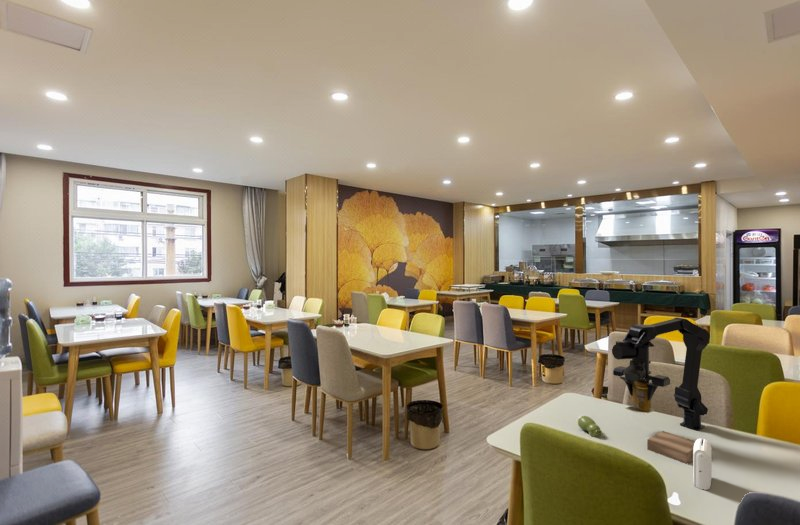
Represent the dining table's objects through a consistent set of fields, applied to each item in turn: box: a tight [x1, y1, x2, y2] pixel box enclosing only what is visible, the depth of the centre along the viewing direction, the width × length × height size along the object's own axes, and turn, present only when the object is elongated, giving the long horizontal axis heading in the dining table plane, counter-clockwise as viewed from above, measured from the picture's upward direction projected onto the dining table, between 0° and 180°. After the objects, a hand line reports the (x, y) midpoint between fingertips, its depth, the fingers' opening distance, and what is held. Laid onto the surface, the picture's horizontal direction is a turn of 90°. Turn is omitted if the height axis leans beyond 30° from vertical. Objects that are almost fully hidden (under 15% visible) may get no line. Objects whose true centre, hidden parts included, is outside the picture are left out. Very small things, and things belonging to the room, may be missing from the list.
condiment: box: [624, 378, 656, 416], centre depth 155 cm, size 7×8×12 cm
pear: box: [577, 415, 602, 438], centre depth 154 cm, size 6×5×10 cm
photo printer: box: [692, 438, 713, 491], centre depth 120 cm, size 10×4×12 cm, turn 140°
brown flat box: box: [646, 430, 696, 465], centre depth 138 cm, size 12×12×4 cm
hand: (640, 397), depth 155 cm, fingers closed on condiment, 6 cm apart
